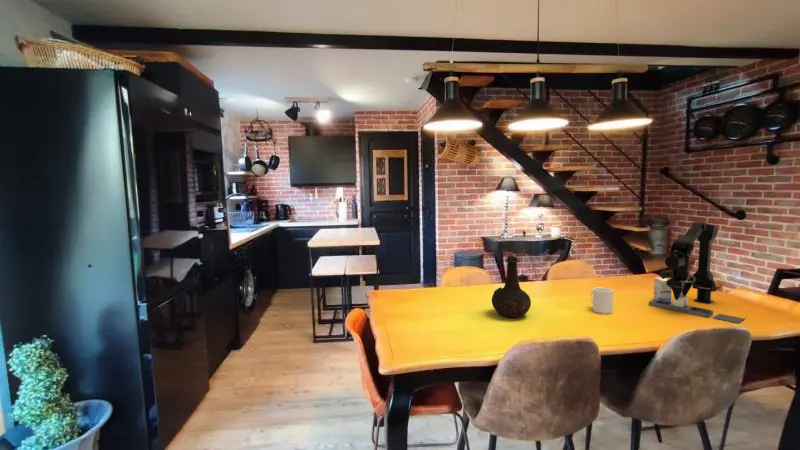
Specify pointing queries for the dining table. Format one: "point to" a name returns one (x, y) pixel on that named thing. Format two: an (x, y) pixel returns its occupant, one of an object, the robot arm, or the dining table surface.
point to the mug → (602, 300)
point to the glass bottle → (511, 294)
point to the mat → (728, 318)
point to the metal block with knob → (680, 301)
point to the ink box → (662, 290)
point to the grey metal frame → (687, 310)
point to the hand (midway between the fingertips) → (680, 298)
